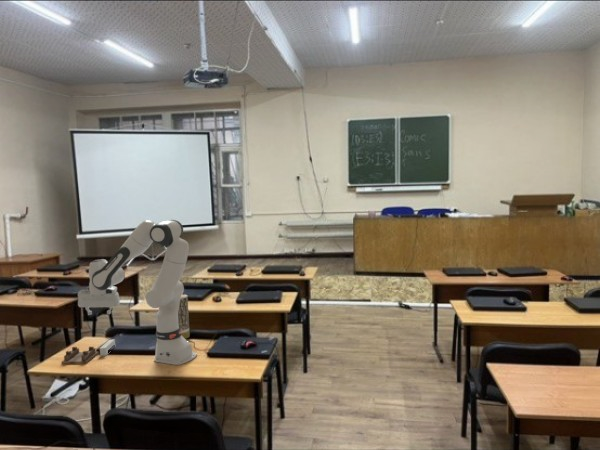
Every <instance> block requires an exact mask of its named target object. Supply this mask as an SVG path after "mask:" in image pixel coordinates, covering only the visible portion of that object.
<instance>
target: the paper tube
mask: <svg viewBox="0 0 600 450" xmlns="http://www.w3.org/2000/svg"><path fill="white" fill-rule="evenodd" d="M189 315H190V314H189V298H188V295H187V294H182V296H181V299H180V304H179V310H178V324H179V328H180V331H182V332H183V333H182V332H181V334H182V336H183V337H184V338H185V339H186V340H187V339H188V338H190V336H191V335H190V317H189Z"/></svg>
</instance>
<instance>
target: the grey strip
mask: <svg viewBox="0 0 600 450" xmlns="http://www.w3.org/2000/svg"><path fill="white" fill-rule="evenodd" d="M113 345H115V346H116V339H115V338H114V339H109V340H107V341H106V342H105V343H103V345H102V346H101V347H99V356H100V357H106V356H108V355H109V353H108V350H109V349H110V348H111V347H112V346H113Z"/></svg>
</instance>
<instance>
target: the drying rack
mask: <svg viewBox="0 0 600 450" xmlns="http://www.w3.org/2000/svg"><path fill="white" fill-rule="evenodd" d="M98 355H100V351H96V347H94V346H88V350H83V351H80V348H79V347H77V346H72V347H71V350H66V351H65V355H63V360H61V365H75V364H76V365H83V364H84V365H86V364H88V363H90V362H91V360H93V359H94V358H96V357H97V356H98Z"/></svg>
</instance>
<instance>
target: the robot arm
mask: <svg viewBox="0 0 600 450" xmlns="http://www.w3.org/2000/svg"><path fill="white" fill-rule="evenodd" d="M183 233H184V227H183V224H182V223H181V222H180V221H178V220H176V219H168V220H163V221H160V222H157V223H156V222H154V221H152V220H150V219H147V220H143V221H142V222H141V223H139V224H138V225H137V226H136V227H135V228H134V230H133V231H132V232H131V233H130V234H129V236H128V237H127V239H126V240H125V241H124V242H123V244H122V245H121V247H120V248H118V250H117V251H116V252H115V253H114V254H113V255H112V256H111V258H110V259H109V260H107V259H104V258H101V259H100V258H99V259H95V260H93V261H91V262H90V263H89V266H88V277H89V283H88V286H89V287H88V288H89V289H88V288H87V289H79V291H78V292H77V299H78V300H77V306H78V308H85V309H84V310H86V311H87V315H88V316H91V315H93V311H92V310H90V308H99V307H102V308H104V307H108V310H107V311H106V314H107V315H110V314H111V313H112V311H111V310H112V309H113V307H118V306H119V305H120V303H121V301H120V300H121V299H120V294H119V292H118V287H117V286H115V285H118V284H120V283H122V282H123V281H124V280H125V277H126V272H125V269H124V268H123V267H122V266H124V264H126V263H128V262H129V261H131V260H133V259H134V258H137V257H139V256H142V254H143V253H145V252H146V251H147V250H148V249H149V248H150V247H151V245H152V244H153V243H155V244H157V245H158V246H160V247H161V248H165V249H166V251H165V254H164V258H163V261H162V265H161V268H160V269H159V270H160V271H159V273H158V275H157V277H156V279H155V281H154V282H153V284H152V286H151V287H150V289H149V290H148V291H147V293H146V295H145V301H146V304H147V305H148V306H149V307H150V308H152V309H158V311H157V313H156V316H155V322H156V324H155V325H156V330H155V337H156V343H155V352H154V353H155V354H154V355H155V356H154V358H153V361H154V362H156V363H160V364H161V363H162V364H167V365H173V366H178V365H179V366H180V365H183V364H186V363H189V362H190V361H193V360H194V359H195V358H197V356H198V353H197V352H196V351H195V352H194V351H193V348H192V345H191V343H190V341H188V340H187V338H186V339H185V338H184V337H183V336H182V334H181V332H182V331H180V328H179V324H178V310H179V304H180V299H181V296H182V295H183V293H184V291H185V287H184V284H183V282H182V281H180V280H181V279H182V277H183V275H184V271H185V268H186V265H187V260H188V257H189V248H190V244H189V243H188V241H187V240H185V239H183V238H182V235H183ZM182 333H183V332H182Z"/></svg>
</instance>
